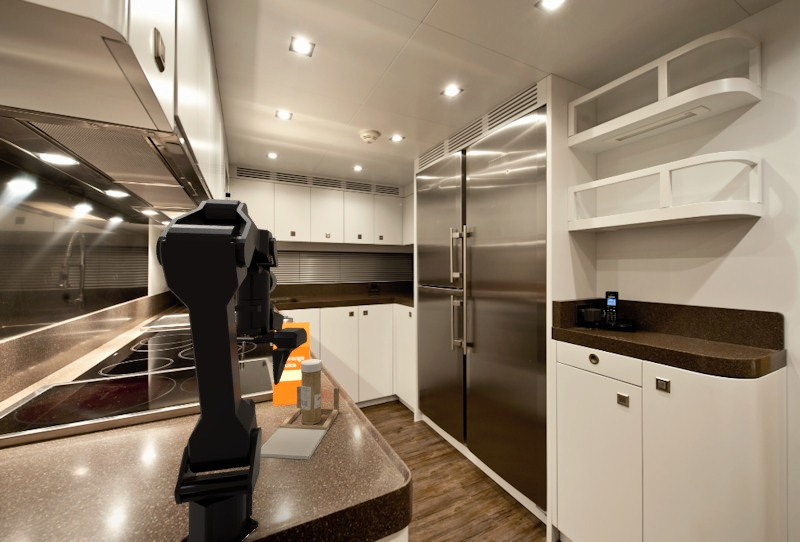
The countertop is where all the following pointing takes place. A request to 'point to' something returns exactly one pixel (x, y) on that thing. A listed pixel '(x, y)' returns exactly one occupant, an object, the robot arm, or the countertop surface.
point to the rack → (332, 412)
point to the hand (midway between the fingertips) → (252, 383)
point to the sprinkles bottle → (311, 391)
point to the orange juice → (292, 370)
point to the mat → (292, 443)
